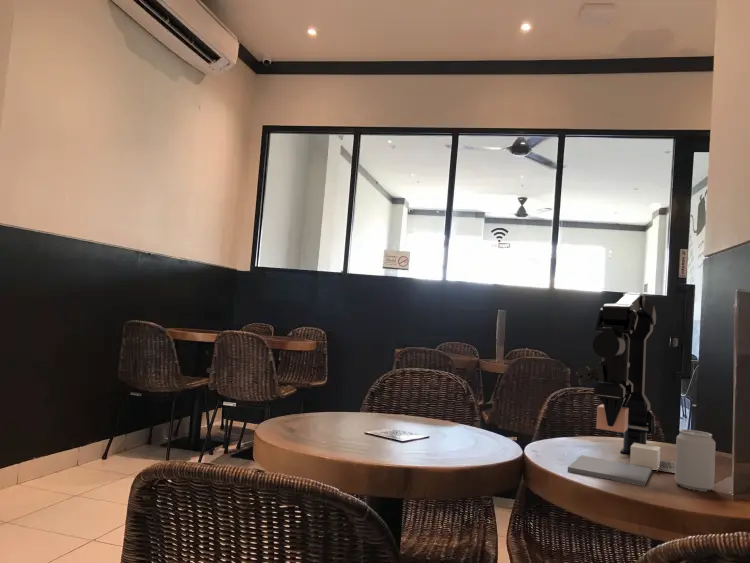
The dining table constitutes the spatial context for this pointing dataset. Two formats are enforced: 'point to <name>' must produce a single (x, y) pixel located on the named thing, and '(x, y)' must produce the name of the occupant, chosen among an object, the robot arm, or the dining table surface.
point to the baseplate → (611, 470)
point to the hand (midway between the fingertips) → (612, 424)
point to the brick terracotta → (619, 424)
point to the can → (695, 460)
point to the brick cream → (645, 455)
